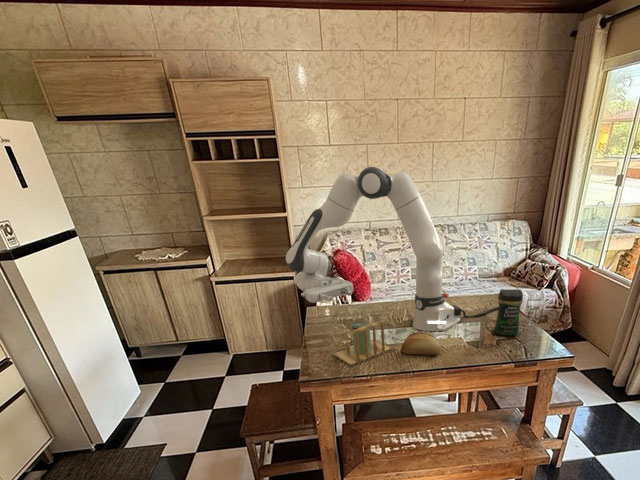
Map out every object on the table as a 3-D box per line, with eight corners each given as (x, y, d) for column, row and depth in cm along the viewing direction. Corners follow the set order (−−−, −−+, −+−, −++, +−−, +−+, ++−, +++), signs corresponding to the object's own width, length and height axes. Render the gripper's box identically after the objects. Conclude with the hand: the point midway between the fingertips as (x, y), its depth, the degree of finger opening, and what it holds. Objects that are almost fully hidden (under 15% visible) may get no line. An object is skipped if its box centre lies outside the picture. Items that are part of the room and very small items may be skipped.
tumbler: (364, 345, 163) (362, 319, 157) (375, 350, 158) (373, 324, 153) (350, 350, 159) (347, 324, 154) (360, 356, 154) (358, 329, 149)
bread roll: (401, 348, 161) (401, 329, 157) (439, 347, 160) (440, 328, 156) (401, 359, 153) (400, 339, 149) (441, 358, 152) (441, 339, 148)
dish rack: (373, 340, 168) (371, 310, 162) (392, 349, 160) (391, 318, 154) (332, 355, 157) (329, 324, 151) (350, 366, 149) (347, 333, 143)
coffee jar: (495, 336, 168) (500, 292, 158) (493, 329, 174) (497, 286, 165) (519, 336, 166) (525, 292, 157) (516, 329, 173) (522, 286, 164)
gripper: (297, 286, 159) (316, 294, 150) (341, 275, 171) (360, 282, 161) (299, 301, 162) (318, 310, 153) (342, 290, 174) (361, 298, 164)
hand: (340, 296), depth 157 cm, fingers open, 8 cm apart
